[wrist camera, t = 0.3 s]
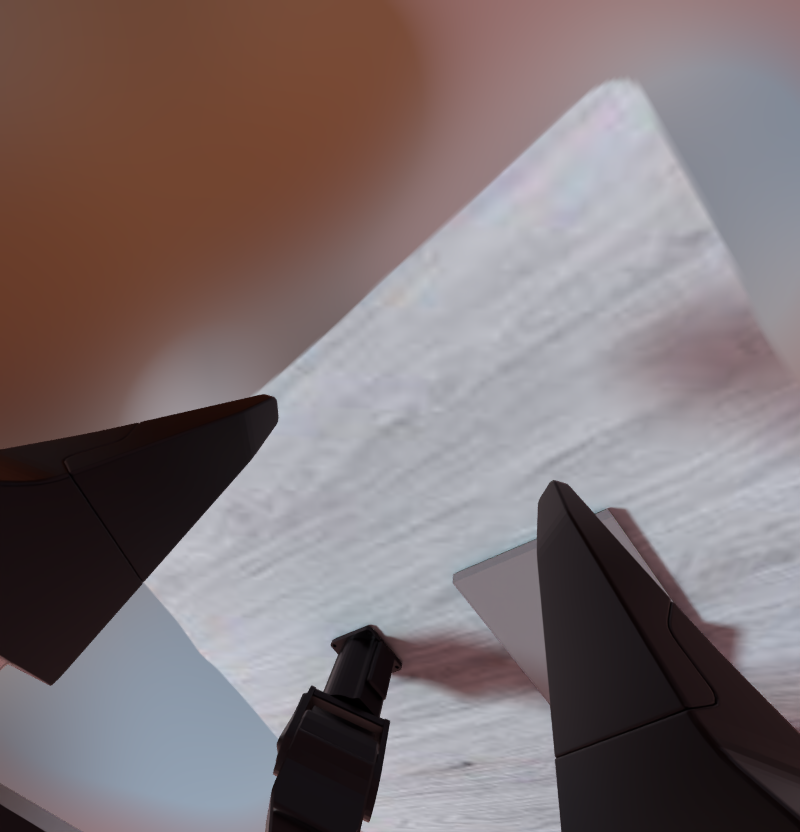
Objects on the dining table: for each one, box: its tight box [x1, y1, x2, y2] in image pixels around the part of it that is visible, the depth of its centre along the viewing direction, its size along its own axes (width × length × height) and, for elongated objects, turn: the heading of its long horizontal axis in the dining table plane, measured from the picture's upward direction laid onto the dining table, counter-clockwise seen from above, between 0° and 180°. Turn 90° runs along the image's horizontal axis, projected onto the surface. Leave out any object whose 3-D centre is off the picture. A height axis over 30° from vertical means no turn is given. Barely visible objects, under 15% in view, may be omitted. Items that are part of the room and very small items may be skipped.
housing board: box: [453, 509, 673, 704], centre depth 26 cm, size 15×28×4 cm, turn 38°
